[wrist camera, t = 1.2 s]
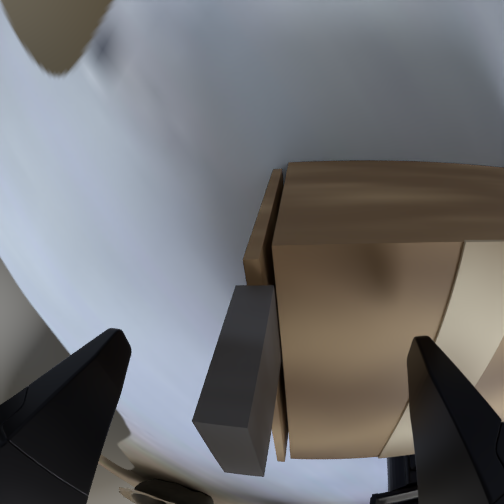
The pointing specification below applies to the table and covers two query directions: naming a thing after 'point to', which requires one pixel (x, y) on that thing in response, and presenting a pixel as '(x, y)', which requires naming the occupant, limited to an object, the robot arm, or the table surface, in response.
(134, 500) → the stone bowl
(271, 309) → the side flap
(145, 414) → the table surface
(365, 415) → the carton
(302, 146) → the table surface
